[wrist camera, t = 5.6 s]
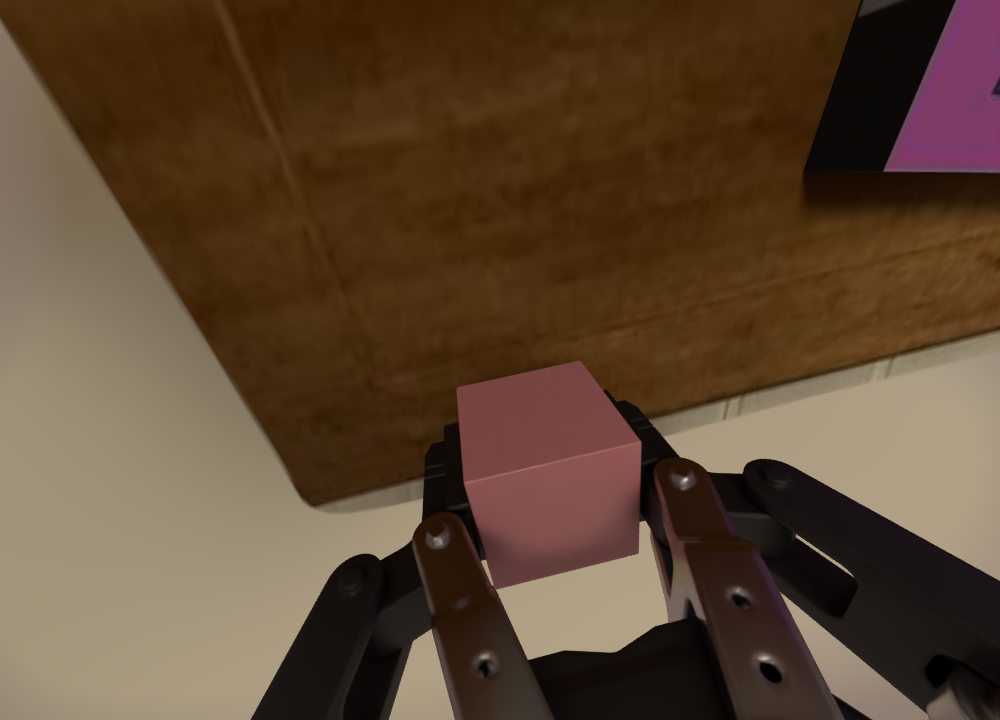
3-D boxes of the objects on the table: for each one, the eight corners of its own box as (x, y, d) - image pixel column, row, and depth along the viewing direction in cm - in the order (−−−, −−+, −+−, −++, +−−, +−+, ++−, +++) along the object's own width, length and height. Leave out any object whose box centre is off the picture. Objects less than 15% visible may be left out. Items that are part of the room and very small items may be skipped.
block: (480, 479, 14) (494, 590, 10) (456, 387, 12) (463, 483, 8) (586, 454, 14) (639, 554, 10) (580, 359, 12) (642, 441, 8)
